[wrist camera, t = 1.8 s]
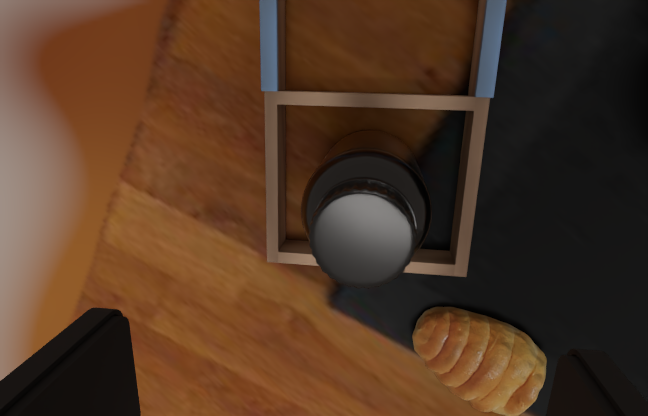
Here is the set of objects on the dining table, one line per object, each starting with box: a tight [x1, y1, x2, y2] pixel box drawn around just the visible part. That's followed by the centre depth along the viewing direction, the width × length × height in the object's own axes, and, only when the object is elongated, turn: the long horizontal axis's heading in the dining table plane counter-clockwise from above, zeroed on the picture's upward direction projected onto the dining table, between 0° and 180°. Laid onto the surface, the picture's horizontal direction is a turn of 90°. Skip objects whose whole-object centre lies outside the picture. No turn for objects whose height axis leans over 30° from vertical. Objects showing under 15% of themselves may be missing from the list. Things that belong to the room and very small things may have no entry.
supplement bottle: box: [301, 130, 432, 289], centre depth 24 cm, size 7×7×12 cm
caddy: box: [260, 0, 507, 277], centre depth 27 cm, size 14×22×3 cm, turn 179°
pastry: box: [412, 307, 547, 416], centre depth 31 cm, size 9×7×4 cm
